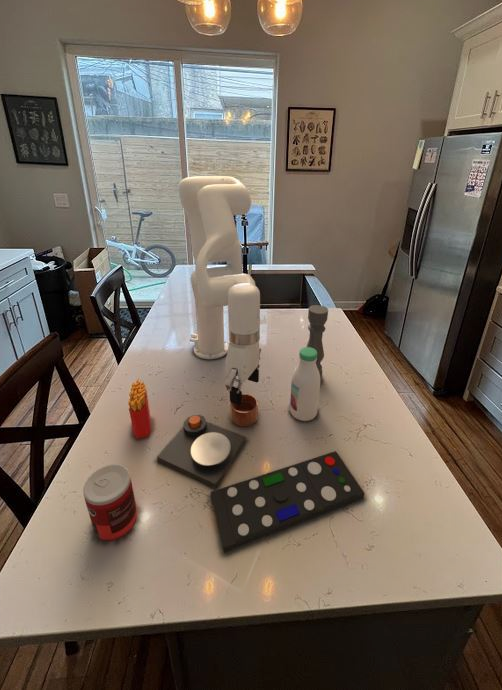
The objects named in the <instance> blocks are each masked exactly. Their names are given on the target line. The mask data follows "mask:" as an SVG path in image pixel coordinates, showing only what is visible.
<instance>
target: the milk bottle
mask: <svg viewBox="0 0 502 690" xmlns="http://www.w3.org/2000/svg"><path fill="white" fill-rule="evenodd" d="M298 355H299V356H298V359H299V361H298V363H297V366H296V367H295V368H294V370H293V372H292V376H291V383H290V385H291V386H290V398H289V412H290V414H291V415H292V417H293V418H294V419H296V420H298V421H302V422H307V421H308V422H309V421H311V420H313V419H315V417H316V416H317V415H318V410H319V402H320V390H321V383H320V373H319V371H318V368H317V366H316V361H317V351H316V350H315V349H313V348H310V347H302V348H300V350H299V353H298Z"/></svg>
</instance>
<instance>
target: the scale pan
mask: <svg viewBox="0 0 502 690" xmlns="http://www.w3.org/2000/svg"><path fill="white" fill-rule="evenodd" d="M230 450H231V445H230V442H229V440H228V438H227V437H226V436H224V435H223V434H220V433H215V432H211V433H206V434H203V435H201V436H200V437H198V438H197V439H196V440H195V441H194V442H193V444H192V446H191V457H192V459H193V460H194V461H195V462H196V463H197V464H199V465H201V466H207V467H208V466H215V465H218V464H220V463H222V462H223V461H224V460H225V459H226V458H227V457H228V455H229V453H230Z"/></svg>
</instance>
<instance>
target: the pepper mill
mask: <svg viewBox="0 0 502 690" xmlns="http://www.w3.org/2000/svg"><path fill="white" fill-rule="evenodd" d="M328 318H329V309H328V307H326V306H324V305H320V304H313V305H310V306H309V307H308V312H307V319H308V322H309V324H308V326H307V329H308V331H309V338H308V341H307V344H306V347H310V348H313V349H315V350H316V351H317V361H316V366H317V368H318V371H319V373H320V384H321V383H322V379H323V366H322V364H321V363H322V361H324V357H325V351H324V346H323V335H324V334H323V333H325V331H326V326H325V325H326V323H327V322H328Z"/></svg>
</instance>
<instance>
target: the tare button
mask: <svg viewBox="0 0 502 690" xmlns="http://www.w3.org/2000/svg"><path fill="white" fill-rule="evenodd" d="M191 416H192V415H191ZM200 424H201V422H200V417H199V416H192V417H191V418H190V419H189V425H190V427H191V428H197V427H199V426H200Z"/></svg>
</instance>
